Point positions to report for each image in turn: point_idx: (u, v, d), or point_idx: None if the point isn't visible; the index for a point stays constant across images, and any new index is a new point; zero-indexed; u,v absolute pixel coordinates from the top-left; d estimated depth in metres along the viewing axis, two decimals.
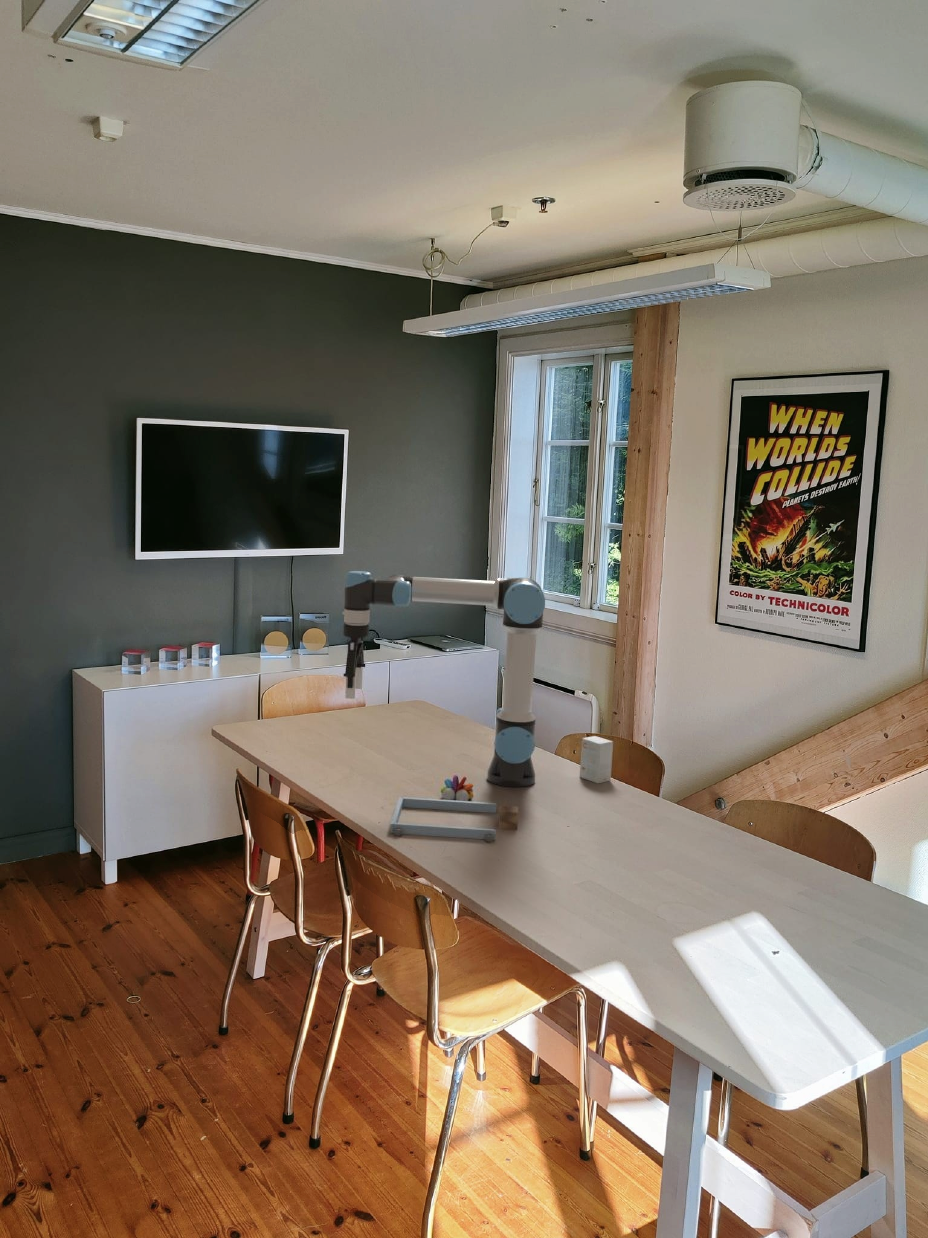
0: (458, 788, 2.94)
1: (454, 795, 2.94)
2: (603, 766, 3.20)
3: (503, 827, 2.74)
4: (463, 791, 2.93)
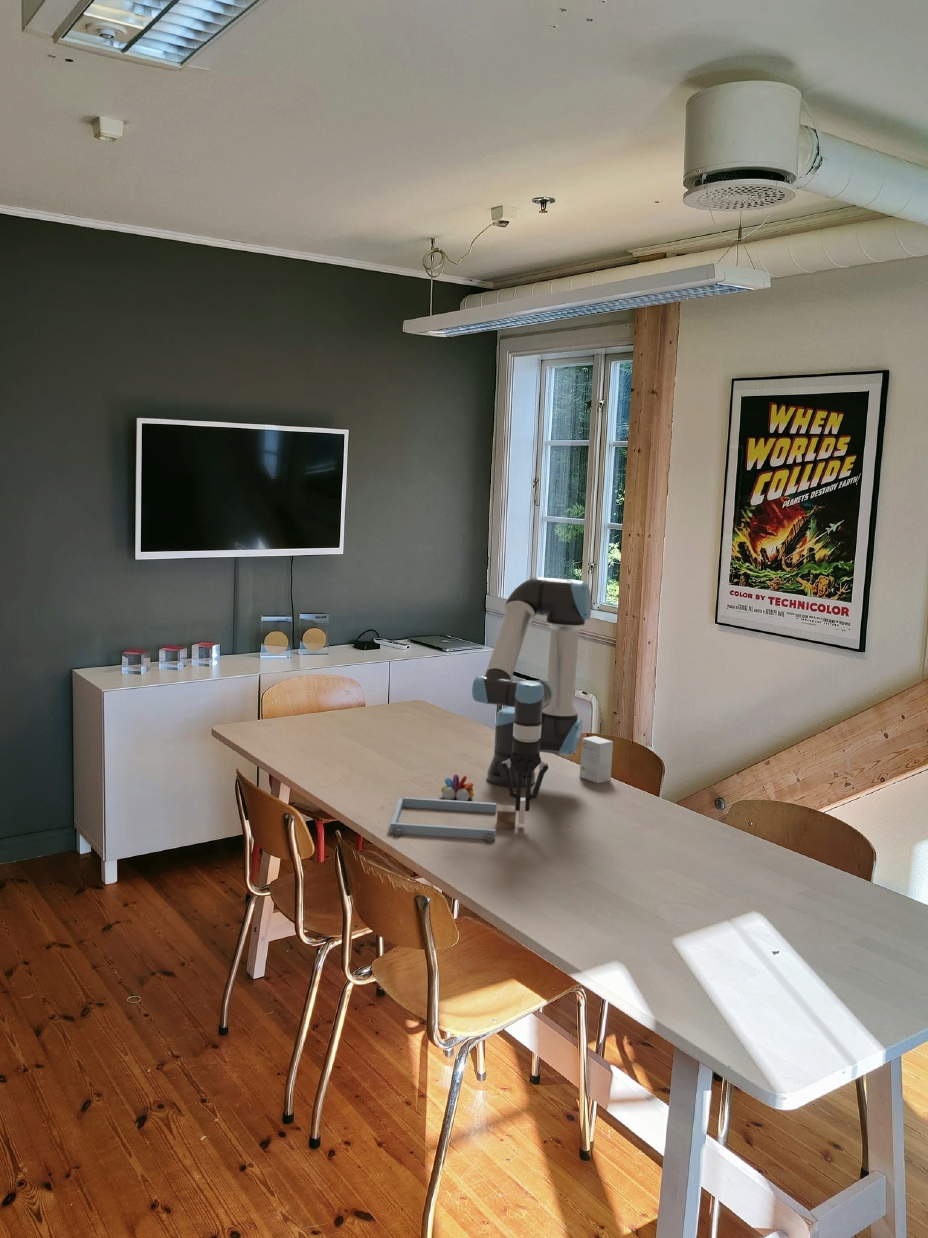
0: (458, 787, 2.95)
1: (454, 794, 2.95)
2: (603, 766, 3.20)
3: (501, 826, 2.74)
4: (463, 790, 2.94)
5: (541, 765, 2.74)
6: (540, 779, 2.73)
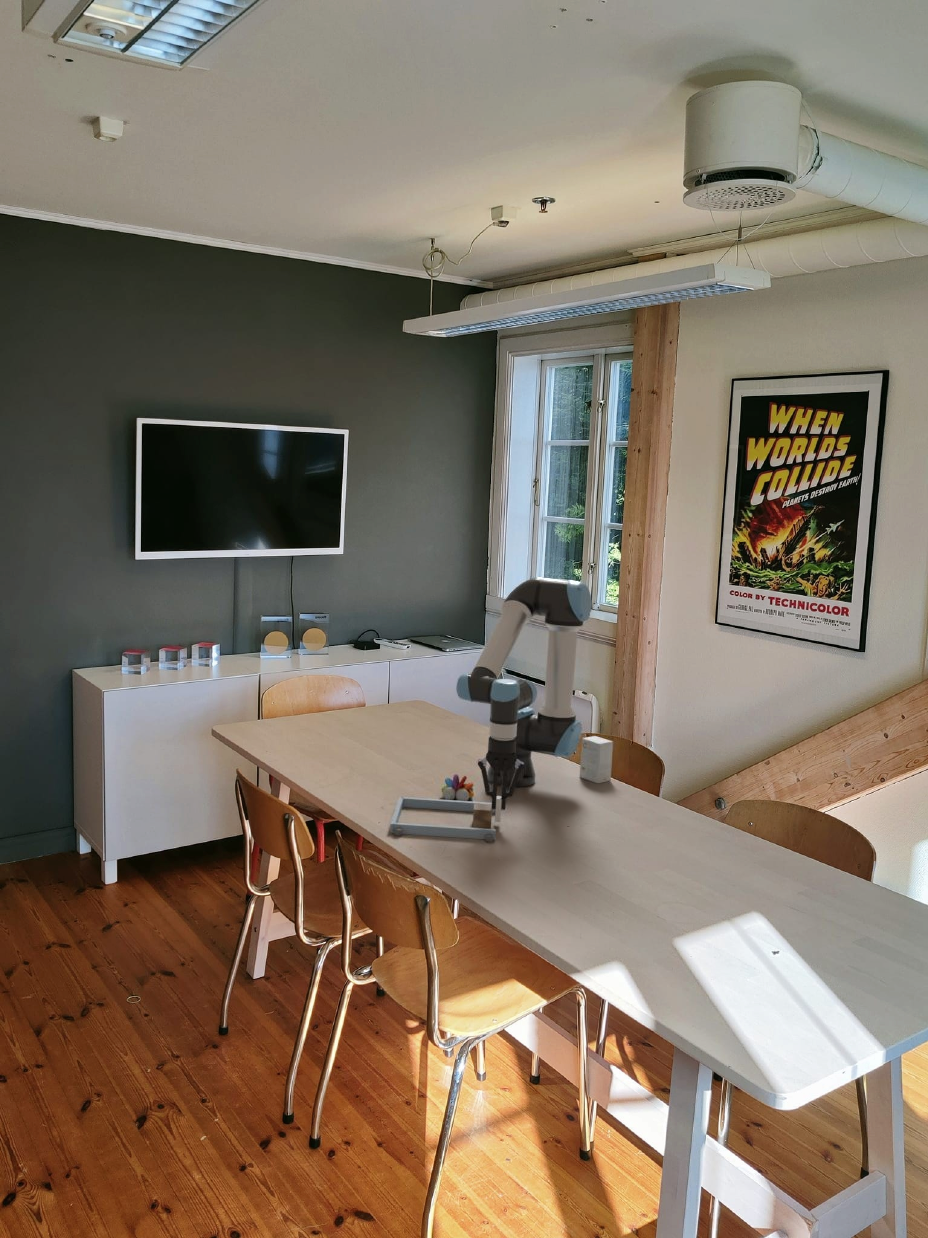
0: (458, 787, 2.95)
1: (454, 794, 2.95)
2: (603, 766, 3.20)
3: (477, 825, 2.74)
4: (463, 790, 2.94)
5: (517, 763, 2.74)
6: (516, 777, 2.74)
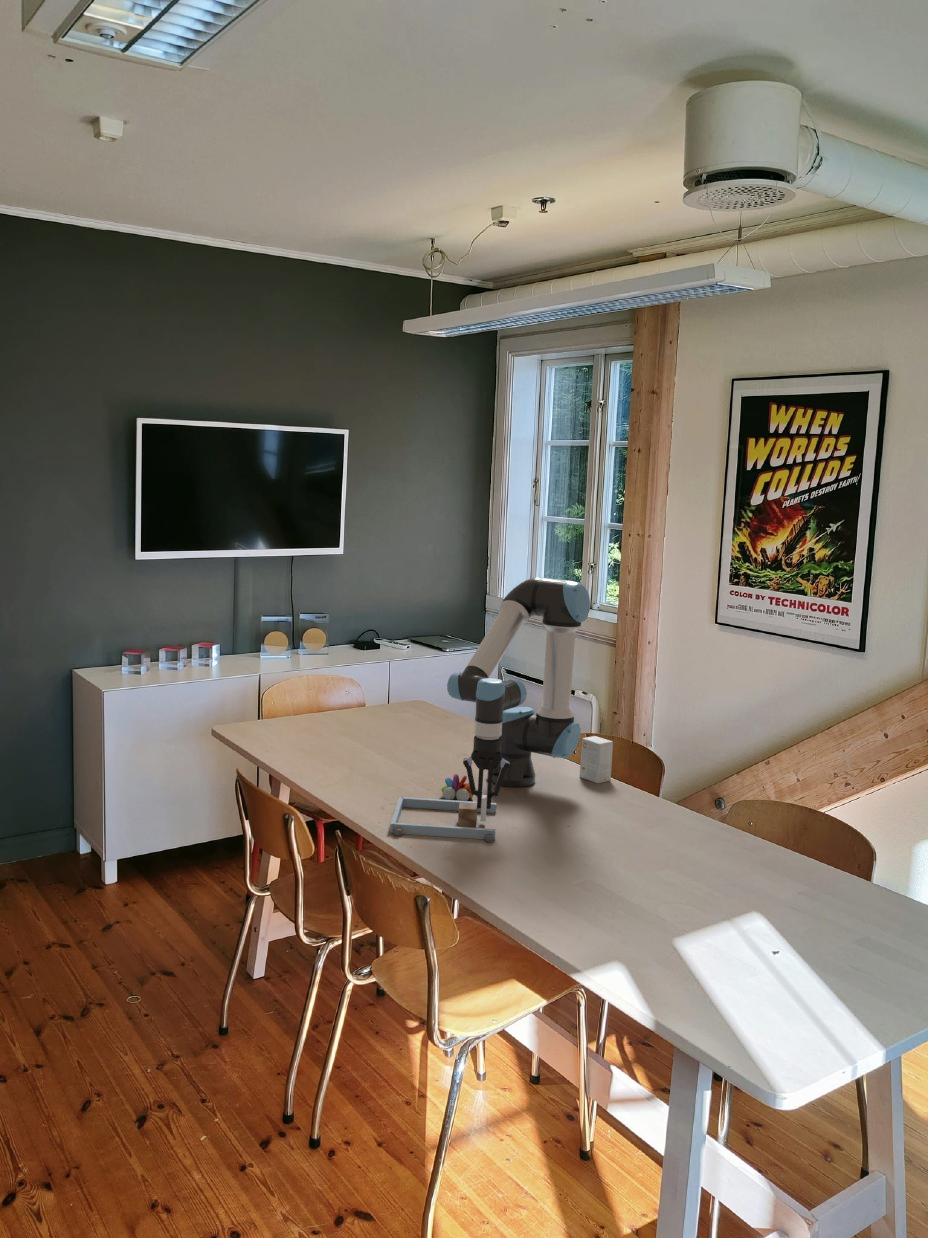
0: (458, 787, 2.96)
1: (454, 794, 2.95)
2: (603, 766, 3.20)
3: (462, 824, 2.75)
4: (463, 790, 2.94)
5: (502, 763, 2.74)
6: (501, 777, 2.74)
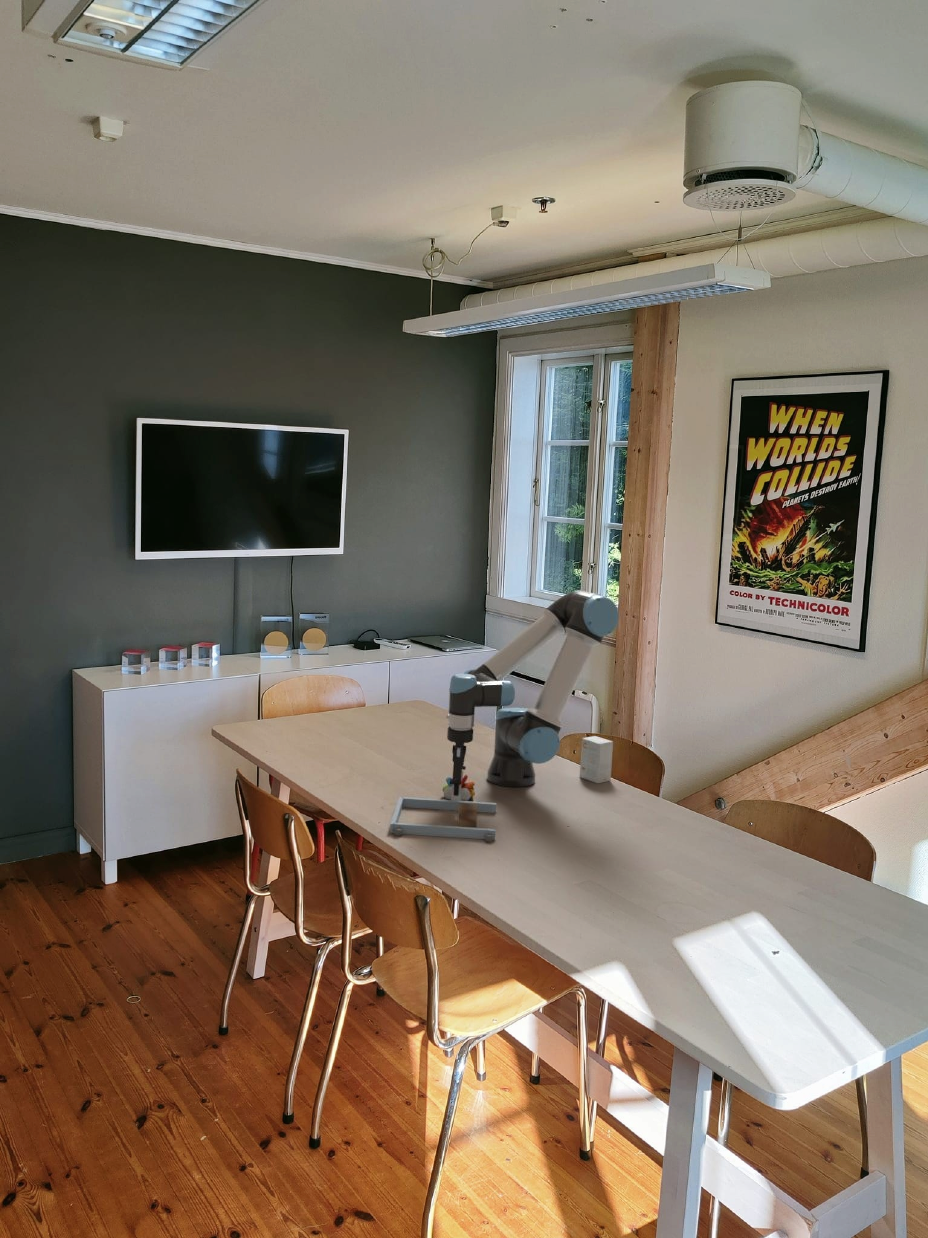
0: None
1: None
2: (603, 766, 3.20)
3: (462, 824, 2.75)
4: (465, 789, 2.95)
5: None
6: None
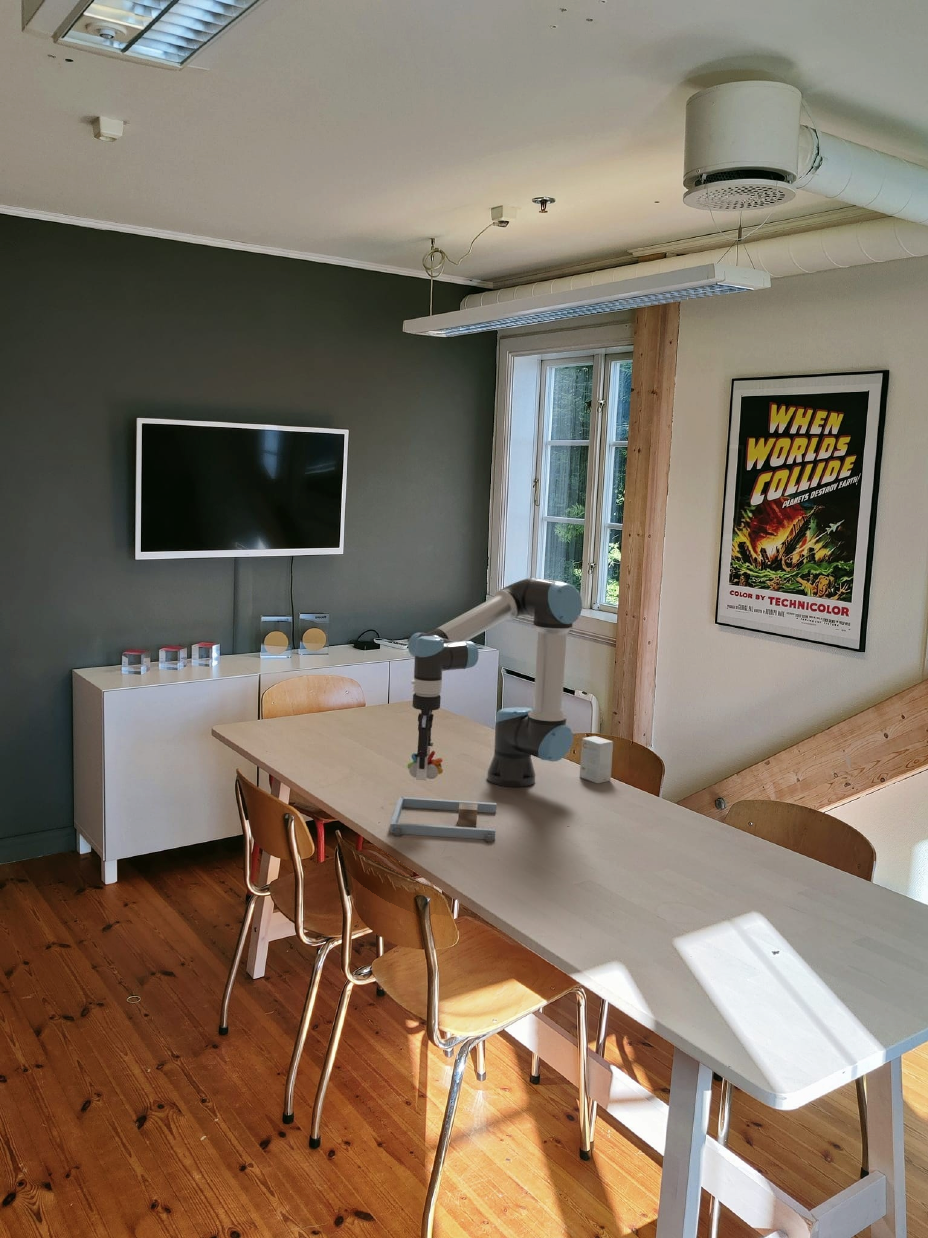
0: None
1: None
2: (603, 766, 3.20)
3: (462, 824, 2.75)
4: (432, 766, 2.72)
5: None
6: None
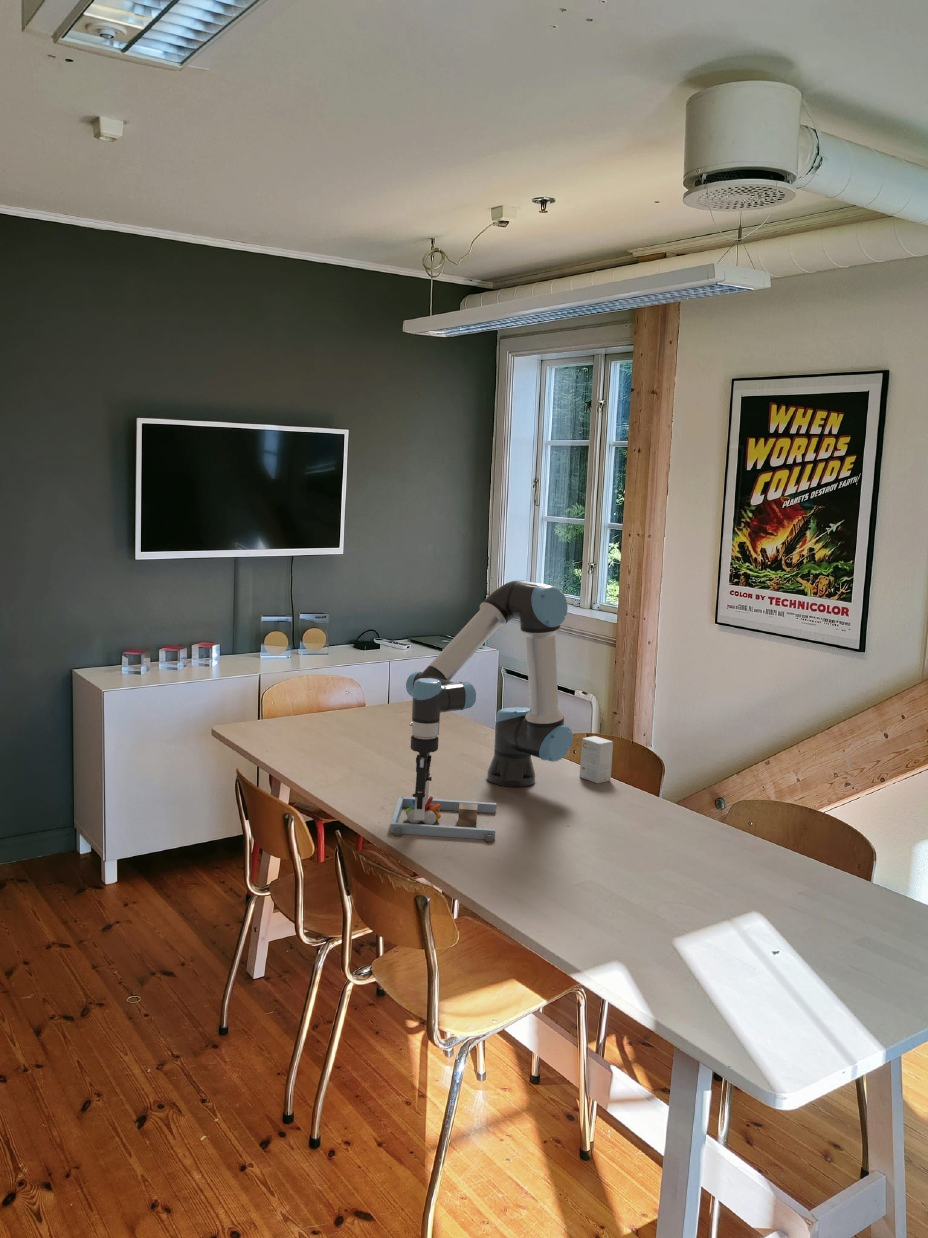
0: (425, 809, 2.75)
1: None
2: (603, 766, 3.20)
3: (462, 824, 2.75)
4: (430, 812, 2.74)
5: None
6: None
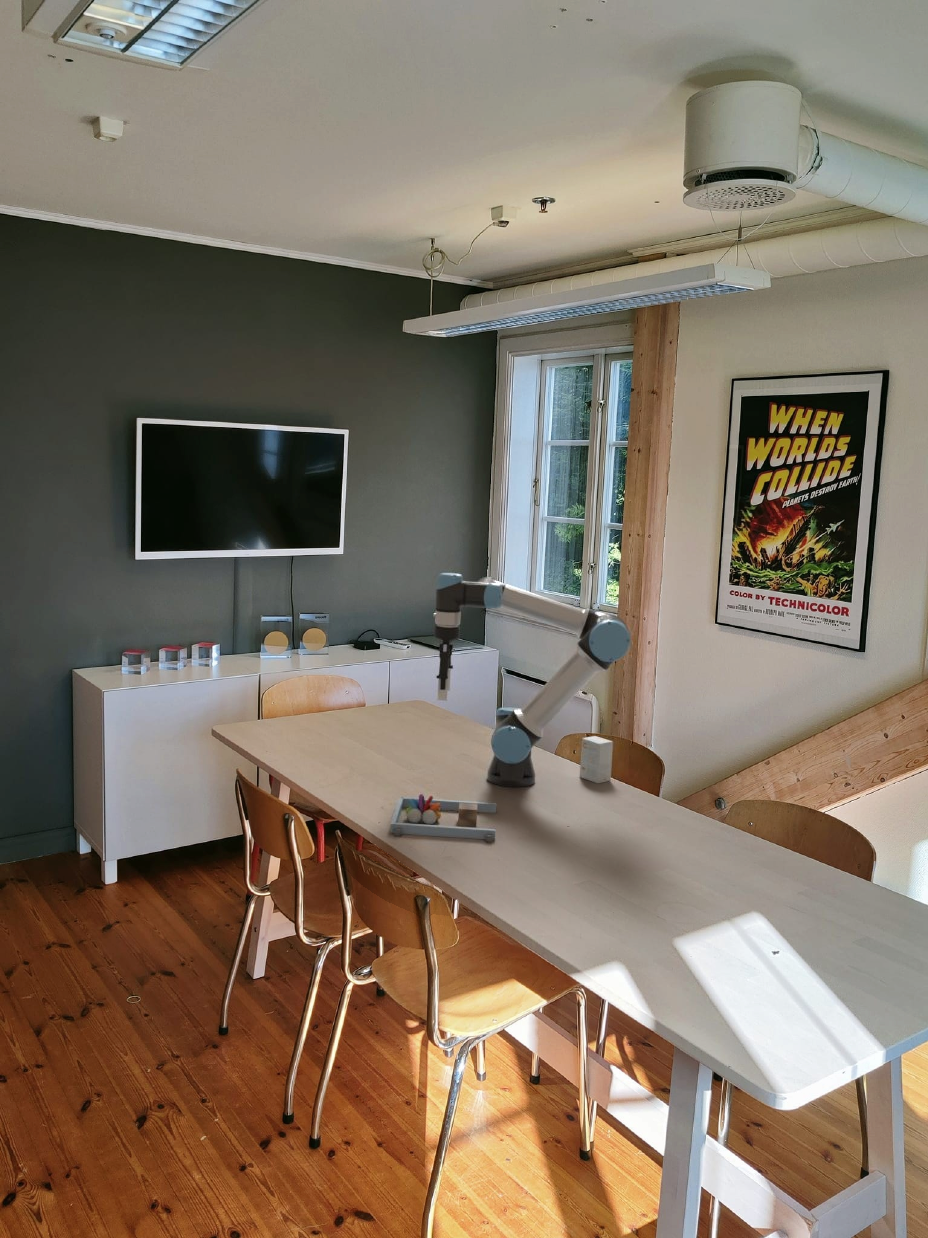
0: (425, 808, 2.75)
1: (421, 816, 2.75)
2: (603, 766, 3.20)
3: (462, 824, 2.75)
4: (430, 811, 2.74)
5: None
6: None
